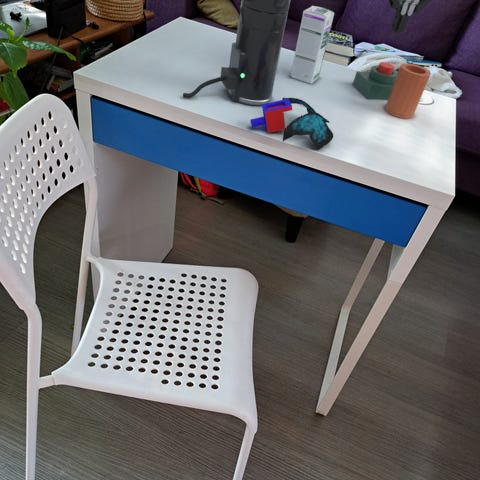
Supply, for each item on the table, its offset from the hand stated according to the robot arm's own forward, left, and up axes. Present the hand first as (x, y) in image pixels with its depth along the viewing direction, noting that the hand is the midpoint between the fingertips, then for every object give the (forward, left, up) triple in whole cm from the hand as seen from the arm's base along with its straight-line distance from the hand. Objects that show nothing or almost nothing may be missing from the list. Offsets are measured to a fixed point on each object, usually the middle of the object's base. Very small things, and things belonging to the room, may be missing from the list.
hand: (396, 32), depth 113 cm
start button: (0, 0, -9) cm, 9 cm away
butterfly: (-24, -24, -13) cm, 36 cm away
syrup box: (-17, +7, -14) cm, 23 cm away
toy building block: (-32, -21, -10) cm, 39 cm away
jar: (0, -11, -13) cm, 17 cm away
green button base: (0, 0, -13) cm, 13 cm away
